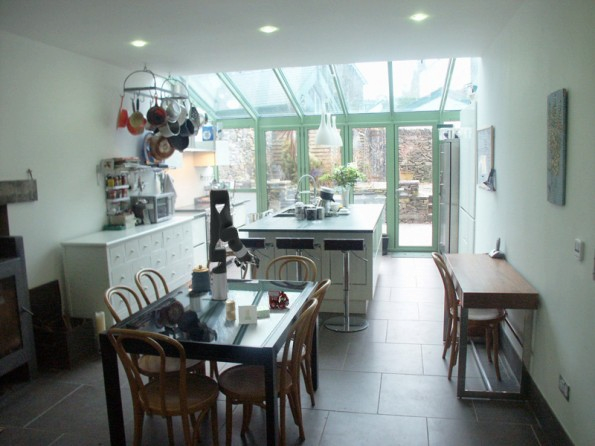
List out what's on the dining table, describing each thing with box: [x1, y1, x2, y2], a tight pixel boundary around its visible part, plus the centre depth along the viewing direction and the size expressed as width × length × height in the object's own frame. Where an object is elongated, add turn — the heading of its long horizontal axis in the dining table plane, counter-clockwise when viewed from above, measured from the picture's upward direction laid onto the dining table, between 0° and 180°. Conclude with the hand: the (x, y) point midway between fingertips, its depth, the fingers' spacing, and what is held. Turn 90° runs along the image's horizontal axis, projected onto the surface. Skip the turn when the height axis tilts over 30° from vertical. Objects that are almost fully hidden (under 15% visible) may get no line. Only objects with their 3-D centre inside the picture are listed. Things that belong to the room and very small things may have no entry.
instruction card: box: [237, 304, 258, 325], centre depth 271 cm, size 10×3×10 cm, turn 96°
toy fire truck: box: [267, 290, 290, 310], centre depth 298 cm, size 7×12×10 cm, turn 81°
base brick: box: [257, 305, 271, 318], centre depth 285 cm, size 8×8×4 cm
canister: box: [190, 264, 212, 293], centre depth 340 cm, size 13×13×18 cm
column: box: [225, 299, 237, 321], centre depth 278 cm, size 4×4×10 cm
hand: (251, 268), depth 296 cm, fingers open, 8 cm apart
